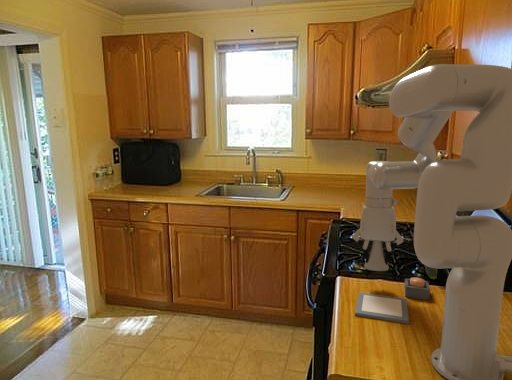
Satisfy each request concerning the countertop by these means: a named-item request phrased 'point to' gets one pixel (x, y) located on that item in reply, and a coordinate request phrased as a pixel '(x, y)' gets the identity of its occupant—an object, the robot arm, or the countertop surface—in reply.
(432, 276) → the vegetable
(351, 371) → the countertop surface
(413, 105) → the robot arm
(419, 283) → the button
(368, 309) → the board
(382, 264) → the flask
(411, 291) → the button housing
